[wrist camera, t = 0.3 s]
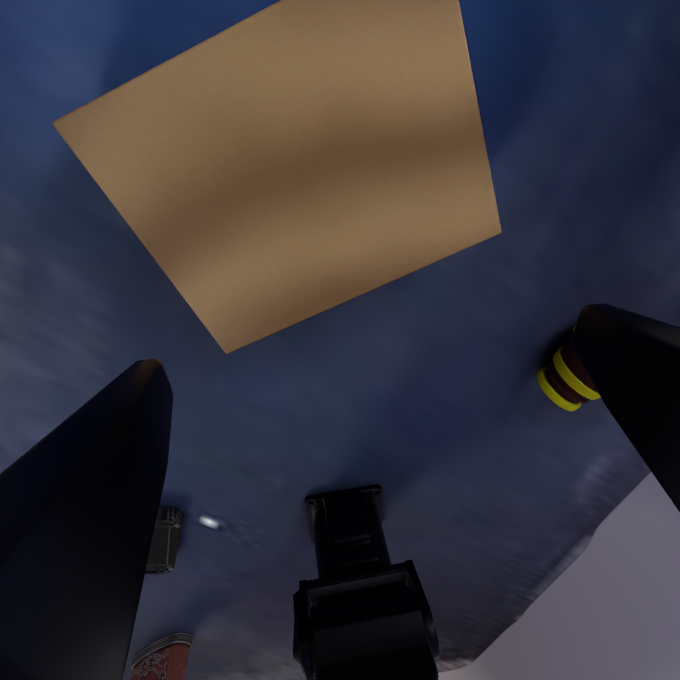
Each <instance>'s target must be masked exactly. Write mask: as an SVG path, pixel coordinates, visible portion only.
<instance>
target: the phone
mask: <svg viewBox="0 0 680 680" xmlns="http://www.w3.org/2000/svg"><path fill="white" fill-rule="evenodd" d="M181 522H182V513H181V512H180V511H179V510H178V509H175V508H171V507H159V509H158V514H157V518H156V523H155V528H154V533H153V537H152V542H151V547H150V552H149V556H148V561H147V566H146V571H145V574H164V573H168V572H170V571H172V570H173V569H174V567H175V561H176V555H177V548H178V542H179V535H180V529H181Z"/></svg>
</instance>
